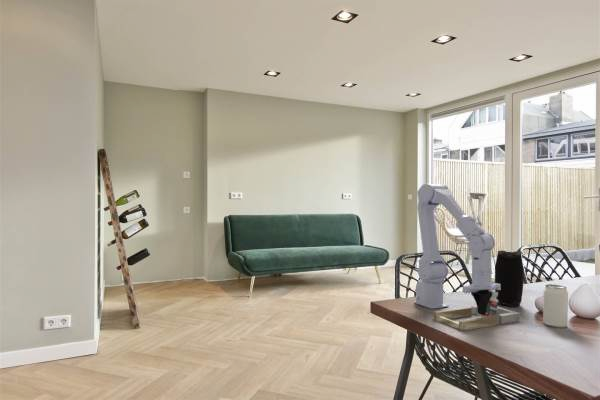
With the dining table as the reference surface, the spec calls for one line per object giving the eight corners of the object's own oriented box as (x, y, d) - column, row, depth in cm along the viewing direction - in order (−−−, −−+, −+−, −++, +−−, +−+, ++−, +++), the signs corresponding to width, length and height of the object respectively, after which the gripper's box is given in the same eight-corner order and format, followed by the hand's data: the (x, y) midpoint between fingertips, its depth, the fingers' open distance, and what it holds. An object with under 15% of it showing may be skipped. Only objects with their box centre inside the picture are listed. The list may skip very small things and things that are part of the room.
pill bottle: (489, 319, 128) (494, 291, 129) (474, 314, 132) (479, 287, 133) (497, 320, 131) (503, 293, 132) (482, 316, 135) (487, 289, 136)
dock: (471, 313, 138) (471, 306, 138) (488, 311, 141) (488, 303, 141) (501, 323, 127) (502, 315, 127) (519, 320, 130) (519, 313, 130)
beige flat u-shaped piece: (433, 319, 131) (433, 311, 131) (467, 314, 137) (468, 306, 137) (462, 330, 120) (462, 322, 120) (498, 324, 126) (498, 316, 126)
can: (571, 328, 123) (572, 289, 123) (547, 327, 124) (548, 288, 124) (562, 322, 129) (562, 284, 129) (539, 320, 131) (540, 283, 131)
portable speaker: (490, 301, 154) (491, 250, 154) (514, 301, 154) (515, 250, 154) (501, 307, 145) (502, 253, 145) (527, 308, 145) (528, 253, 145)
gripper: (474, 274, 124) (475, 319, 123) (508, 271, 130) (509, 314, 129) (457, 271, 130) (457, 314, 130) (490, 268, 136) (490, 309, 136)
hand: (482, 314), depth 130 cm, fingers closed, pressing on pill bottle
